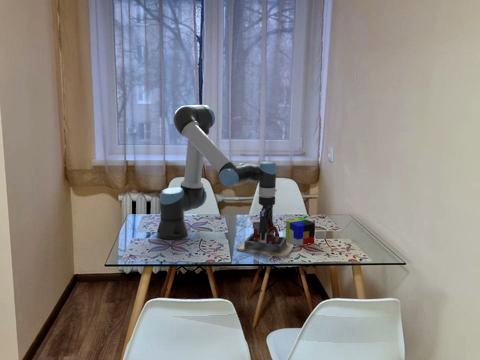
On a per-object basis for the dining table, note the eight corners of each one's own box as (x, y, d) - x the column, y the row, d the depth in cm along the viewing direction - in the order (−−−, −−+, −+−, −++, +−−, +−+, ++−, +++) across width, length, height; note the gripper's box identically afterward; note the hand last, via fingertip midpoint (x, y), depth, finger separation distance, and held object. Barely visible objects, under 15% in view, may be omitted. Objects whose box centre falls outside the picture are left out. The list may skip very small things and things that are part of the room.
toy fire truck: (278, 247, 203) (279, 225, 201) (251, 245, 204) (252, 224, 202) (279, 242, 210) (279, 221, 207) (252, 240, 211) (253, 219, 209)
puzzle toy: (297, 246, 211) (297, 226, 209) (285, 239, 220) (286, 220, 218) (314, 243, 216) (315, 223, 213) (302, 236, 224) (303, 217, 222)
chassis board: (236, 250, 205) (236, 241, 204) (245, 240, 218) (245, 231, 217) (287, 257, 197) (287, 247, 196) (294, 246, 210) (294, 237, 209)
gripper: (269, 202, 191) (267, 252, 196) (280, 191, 210) (278, 237, 215) (252, 200, 194) (251, 249, 199) (265, 190, 213) (263, 235, 217)
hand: (265, 243), depth 207 cm, fingers closed on toy fire truck, 7 cm apart
